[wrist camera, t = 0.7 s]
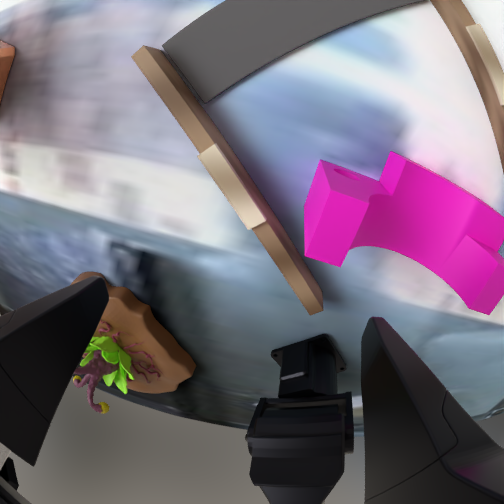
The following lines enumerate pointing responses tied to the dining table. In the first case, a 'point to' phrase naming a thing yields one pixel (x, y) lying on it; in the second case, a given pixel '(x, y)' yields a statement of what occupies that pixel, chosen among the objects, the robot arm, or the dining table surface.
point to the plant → (131, 349)
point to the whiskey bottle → (5, 63)
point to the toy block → (409, 225)
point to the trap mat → (258, 36)
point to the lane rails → (240, 183)
